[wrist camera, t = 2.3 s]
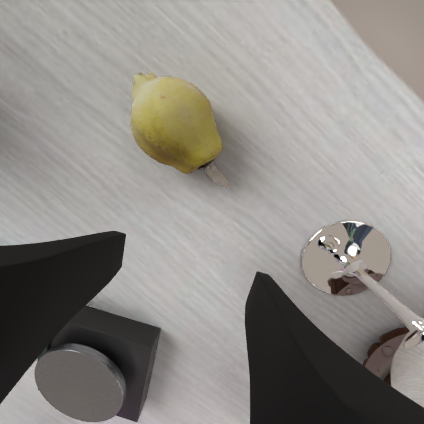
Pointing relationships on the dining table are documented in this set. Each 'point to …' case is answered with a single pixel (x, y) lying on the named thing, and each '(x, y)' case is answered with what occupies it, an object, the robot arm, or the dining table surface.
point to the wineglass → (362, 280)
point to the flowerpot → (384, 354)
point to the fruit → (175, 125)
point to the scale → (116, 350)
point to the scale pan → (81, 382)
